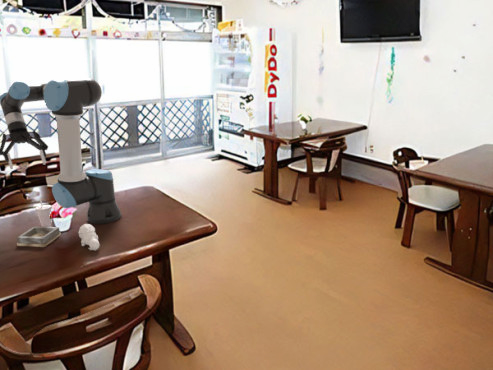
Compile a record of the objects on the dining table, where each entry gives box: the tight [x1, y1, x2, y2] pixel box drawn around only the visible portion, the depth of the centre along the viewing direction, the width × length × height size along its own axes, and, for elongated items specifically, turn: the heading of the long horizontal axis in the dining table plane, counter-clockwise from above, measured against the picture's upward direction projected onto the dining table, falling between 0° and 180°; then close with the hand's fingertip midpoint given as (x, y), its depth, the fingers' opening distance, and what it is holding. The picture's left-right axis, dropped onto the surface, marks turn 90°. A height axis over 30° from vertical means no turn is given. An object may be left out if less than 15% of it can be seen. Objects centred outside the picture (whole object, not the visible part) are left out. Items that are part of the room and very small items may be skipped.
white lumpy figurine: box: [78, 223, 101, 251], centre depth 167 cm, size 6×8×12 cm
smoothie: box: [35, 197, 52, 227], centre depth 186 cm, size 6×6×14 cm
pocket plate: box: [16, 225, 62, 248], centre depth 175 cm, size 12×12×4 cm
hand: (28, 165), depth 189 cm, fingers open, 13 cm apart
